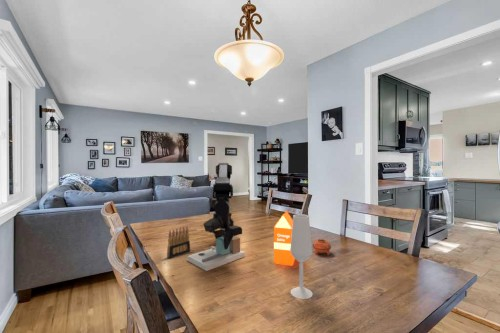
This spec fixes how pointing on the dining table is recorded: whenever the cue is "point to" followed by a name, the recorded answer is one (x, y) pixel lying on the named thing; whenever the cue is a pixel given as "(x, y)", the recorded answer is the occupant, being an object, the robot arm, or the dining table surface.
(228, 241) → the robot arm
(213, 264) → the white base plate
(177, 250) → the ammunition clip
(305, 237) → the champagne flute
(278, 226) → the orange juice
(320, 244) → the pot
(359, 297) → the dining table surface
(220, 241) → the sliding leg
